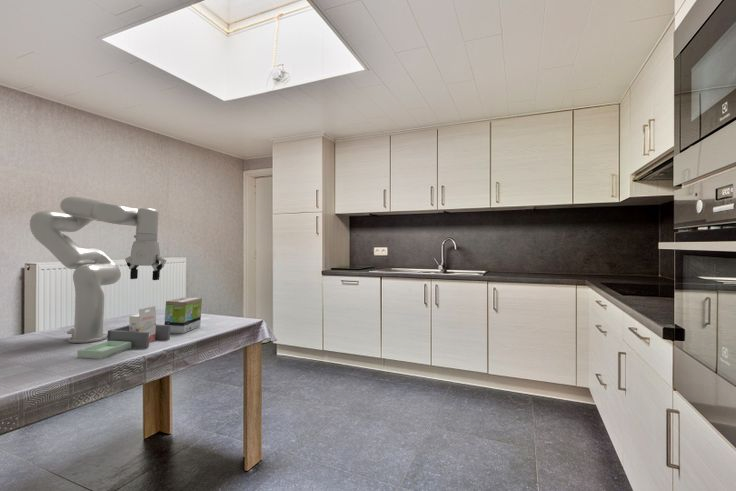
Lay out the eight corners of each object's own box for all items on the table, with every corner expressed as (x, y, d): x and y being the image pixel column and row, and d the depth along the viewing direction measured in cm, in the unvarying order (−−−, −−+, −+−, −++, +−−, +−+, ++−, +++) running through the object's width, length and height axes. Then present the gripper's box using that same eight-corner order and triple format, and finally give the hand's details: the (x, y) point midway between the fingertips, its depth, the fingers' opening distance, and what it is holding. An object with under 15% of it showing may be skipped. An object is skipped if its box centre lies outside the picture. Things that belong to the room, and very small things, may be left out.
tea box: (184, 333, 157) (186, 301, 157) (163, 333, 157) (164, 300, 158) (201, 326, 172) (202, 297, 173) (181, 325, 172) (182, 296, 173)
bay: (107, 346, 135) (107, 330, 135) (134, 337, 149) (134, 323, 149) (146, 348, 134) (146, 332, 134) (169, 339, 147) (170, 325, 148)
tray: (77, 357, 121) (77, 350, 121) (108, 346, 134) (108, 340, 134) (102, 358, 120) (102, 351, 120) (131, 348, 133) (131, 341, 133)
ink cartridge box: (145, 339, 146) (147, 305, 146) (155, 340, 145) (156, 305, 145) (127, 344, 137) (129, 308, 138) (138, 345, 136) (139, 309, 137)
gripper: (119, 237, 139) (117, 279, 139) (160, 238, 137) (158, 281, 137) (134, 237, 146) (132, 277, 146) (172, 239, 145) (170, 279, 144)
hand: (144, 279), depth 141 cm, fingers open, 9 cm apart
